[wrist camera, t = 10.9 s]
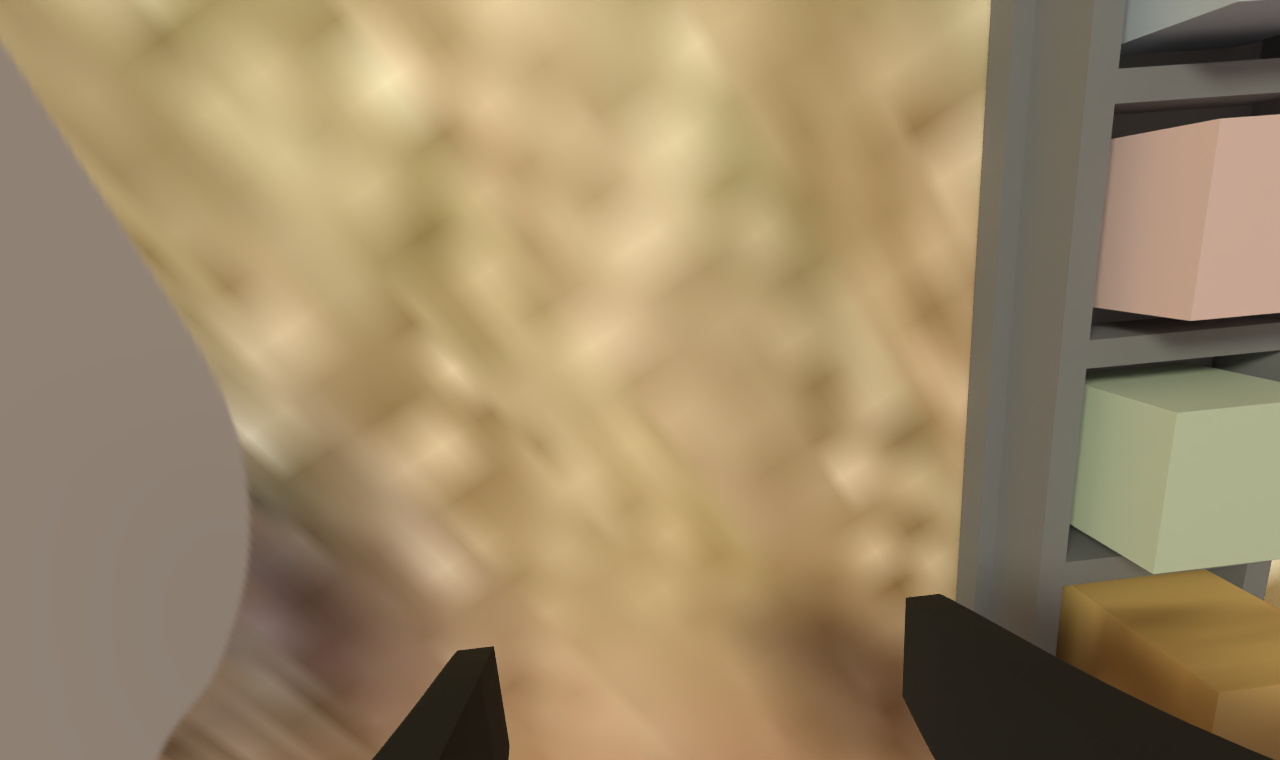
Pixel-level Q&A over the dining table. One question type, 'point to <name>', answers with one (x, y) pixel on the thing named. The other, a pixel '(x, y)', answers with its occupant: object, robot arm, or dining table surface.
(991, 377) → the five-cell board
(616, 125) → the dining table surface
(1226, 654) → the ochre block
